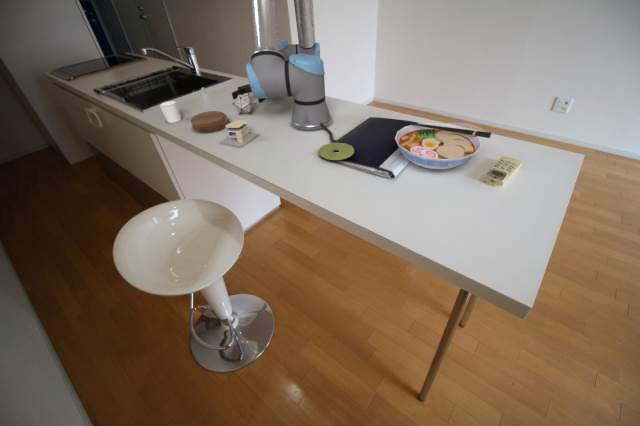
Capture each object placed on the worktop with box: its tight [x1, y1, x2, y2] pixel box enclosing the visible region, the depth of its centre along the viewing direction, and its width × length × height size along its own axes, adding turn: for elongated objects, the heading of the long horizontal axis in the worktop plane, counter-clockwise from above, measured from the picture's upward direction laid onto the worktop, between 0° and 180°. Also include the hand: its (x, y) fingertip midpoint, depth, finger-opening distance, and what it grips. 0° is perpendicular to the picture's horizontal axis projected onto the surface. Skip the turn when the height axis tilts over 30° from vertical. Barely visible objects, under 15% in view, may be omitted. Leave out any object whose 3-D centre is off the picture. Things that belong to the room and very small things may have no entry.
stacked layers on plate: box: [220, 119, 258, 148], centre depth 103 cm, size 10×9×6 cm
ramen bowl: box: [394, 121, 492, 170], centre depth 82 cm, size 25×23×8 cm
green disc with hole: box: [317, 142, 355, 161], centre depth 90 cm, size 11×11×2 cm
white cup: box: [159, 100, 182, 124], centre depth 120 cm, size 7×7×7 cm
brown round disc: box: [190, 110, 230, 134], centre depth 114 cm, size 14×14×4 cm
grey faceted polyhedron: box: [232, 93, 257, 115], centre depth 121 cm, size 9×8×10 cm
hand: (245, 97), depth 121 cm, fingers open, 13 cm apart
